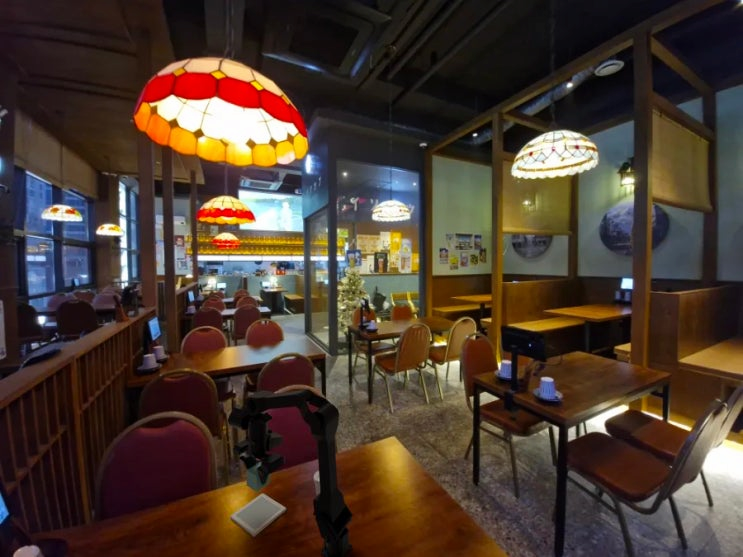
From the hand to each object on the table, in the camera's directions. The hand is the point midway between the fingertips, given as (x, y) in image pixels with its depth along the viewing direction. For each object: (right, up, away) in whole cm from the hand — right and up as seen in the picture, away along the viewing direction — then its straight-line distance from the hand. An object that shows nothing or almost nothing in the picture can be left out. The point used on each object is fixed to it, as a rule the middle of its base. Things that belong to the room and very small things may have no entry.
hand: (258, 480), depth 100 cm
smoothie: (+20, -11, +5) cm, 23 cm away
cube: (0, -1, 0) cm, 1 cm away
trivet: (0, -11, 0) cm, 11 cm away
